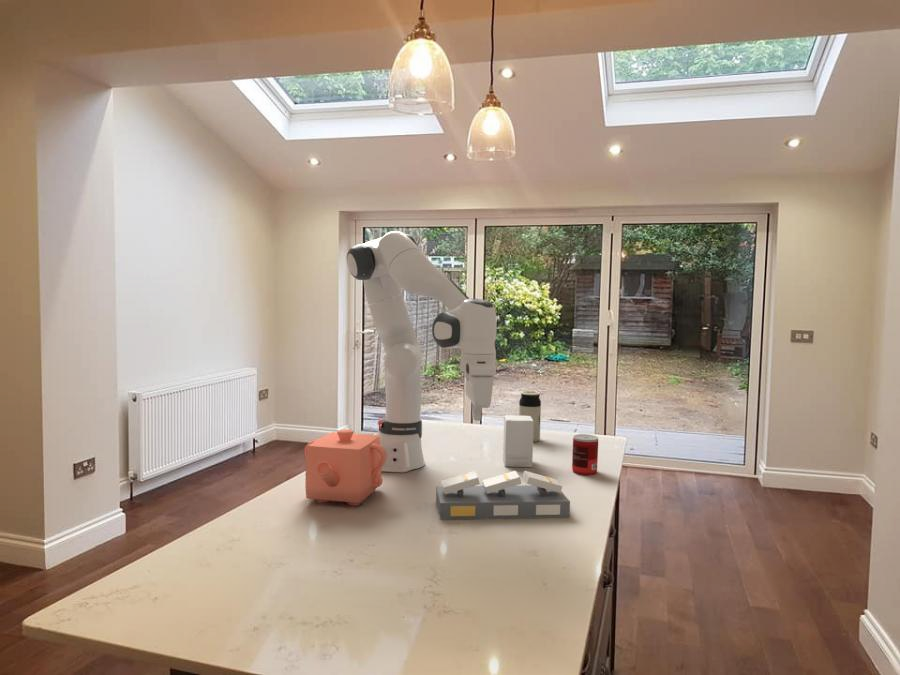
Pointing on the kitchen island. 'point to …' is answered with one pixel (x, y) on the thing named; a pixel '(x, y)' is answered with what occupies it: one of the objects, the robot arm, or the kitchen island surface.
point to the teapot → (343, 467)
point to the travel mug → (531, 410)
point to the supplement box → (518, 441)
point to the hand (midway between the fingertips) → (476, 419)
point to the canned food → (585, 454)
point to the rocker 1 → (460, 482)
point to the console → (502, 503)
